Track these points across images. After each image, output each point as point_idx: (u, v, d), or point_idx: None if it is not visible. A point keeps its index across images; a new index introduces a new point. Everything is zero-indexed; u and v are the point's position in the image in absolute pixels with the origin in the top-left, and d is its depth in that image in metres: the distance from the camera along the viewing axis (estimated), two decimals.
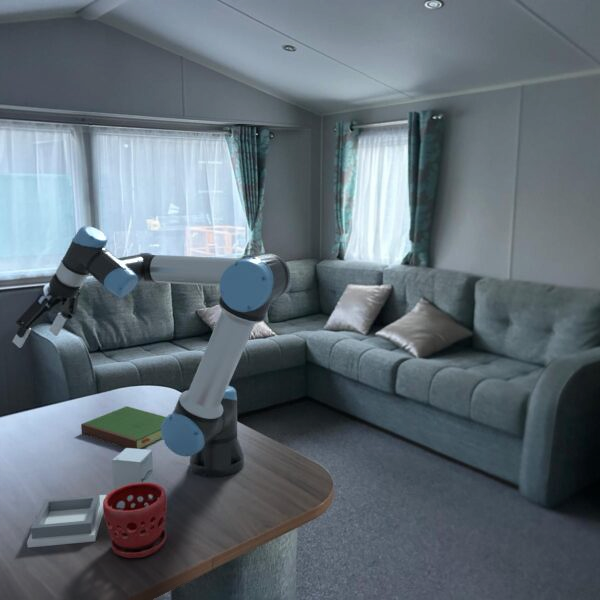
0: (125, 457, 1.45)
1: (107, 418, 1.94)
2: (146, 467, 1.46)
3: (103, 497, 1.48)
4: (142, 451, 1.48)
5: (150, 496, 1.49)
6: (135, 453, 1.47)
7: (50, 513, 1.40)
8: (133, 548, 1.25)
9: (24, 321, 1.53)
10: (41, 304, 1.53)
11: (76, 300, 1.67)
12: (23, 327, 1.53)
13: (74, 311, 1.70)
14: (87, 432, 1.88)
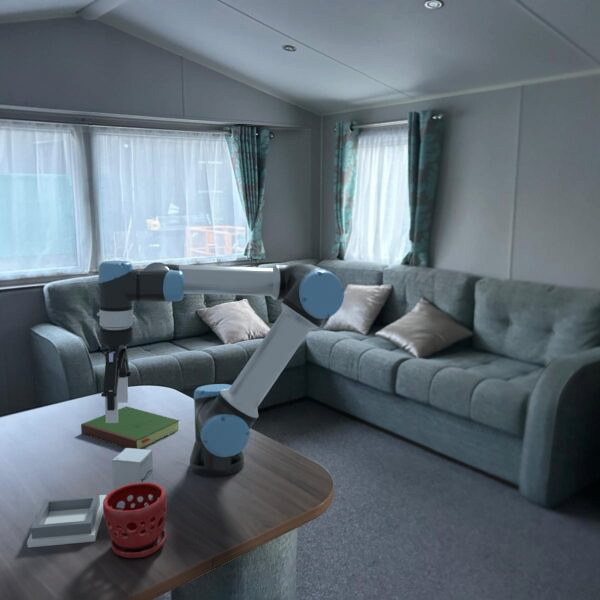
0: (125, 457, 1.45)
1: None
2: (146, 467, 1.46)
3: (103, 497, 1.48)
4: (142, 451, 1.48)
5: (150, 496, 1.49)
6: (135, 453, 1.47)
7: (50, 513, 1.40)
8: (133, 548, 1.25)
9: (111, 387, 1.34)
10: (114, 361, 1.36)
11: (126, 351, 1.50)
12: (114, 394, 1.34)
13: (128, 367, 1.53)
14: (87, 432, 1.88)
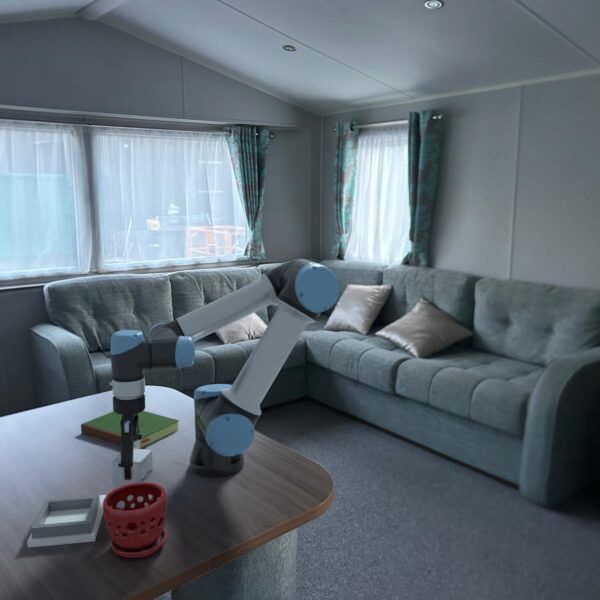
0: None
1: (106, 418, 1.94)
2: (146, 467, 1.46)
3: (103, 497, 1.48)
4: (142, 451, 1.48)
5: (150, 496, 1.49)
6: (135, 453, 1.47)
7: (50, 513, 1.40)
8: (133, 548, 1.25)
9: (128, 458, 1.37)
10: (130, 431, 1.38)
11: None
12: (131, 464, 1.37)
13: (138, 429, 1.55)
14: (87, 432, 1.88)
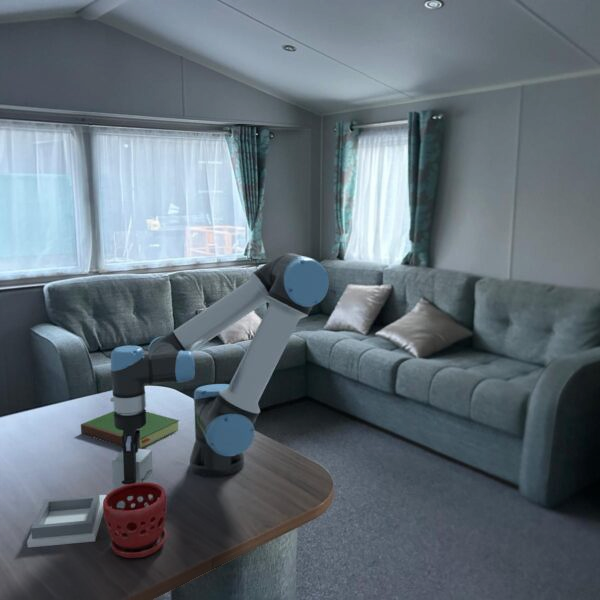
0: None
1: (106, 418, 1.94)
2: (146, 467, 1.46)
3: (103, 497, 1.48)
4: (142, 451, 1.48)
5: (150, 496, 1.49)
6: None
7: (50, 513, 1.40)
8: (133, 548, 1.25)
9: (131, 476, 1.39)
10: (131, 450, 1.39)
11: None
12: (134, 481, 1.40)
13: None
14: (87, 432, 1.88)
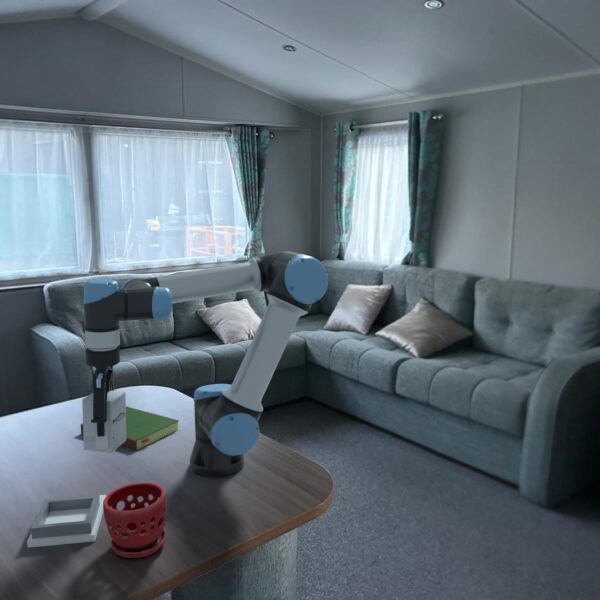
0: None
1: None
2: (118, 409, 1.39)
3: (103, 497, 1.48)
4: (115, 393, 1.41)
5: (122, 440, 1.42)
6: None
7: (50, 513, 1.40)
8: (133, 548, 1.25)
9: (100, 414, 1.32)
10: (102, 387, 1.32)
11: None
12: (104, 420, 1.33)
13: None
14: None
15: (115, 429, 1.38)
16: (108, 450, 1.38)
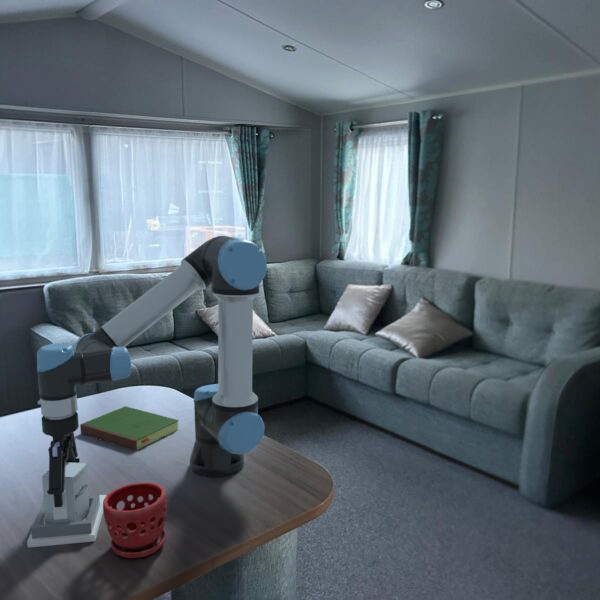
0: None
1: (106, 418, 1.94)
2: (80, 483, 1.35)
3: (103, 497, 1.48)
4: (76, 465, 1.37)
5: (85, 513, 1.39)
6: (68, 468, 1.36)
7: None
8: (133, 548, 1.25)
9: (56, 485, 1.26)
10: (58, 455, 1.27)
11: (73, 436, 1.41)
12: (60, 491, 1.26)
13: (76, 452, 1.43)
14: (86, 432, 1.88)
15: (77, 504, 1.34)
16: None
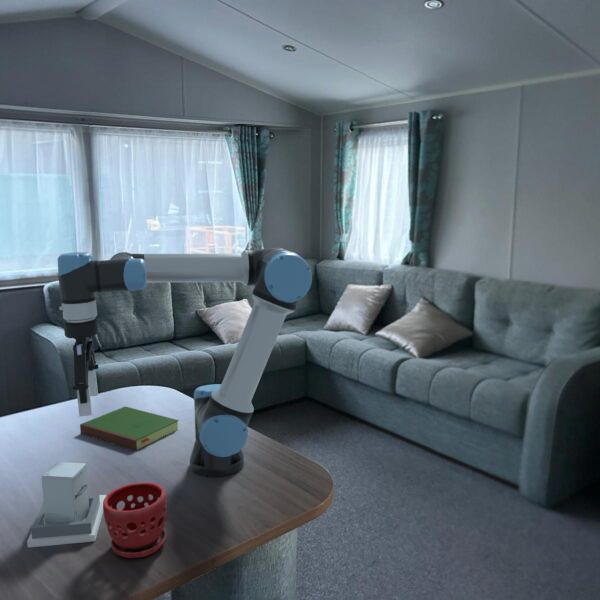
0: (56, 472, 1.34)
1: (106, 418, 1.94)
2: (80, 483, 1.35)
3: (103, 497, 1.48)
4: (75, 465, 1.37)
5: (85, 513, 1.39)
6: (68, 468, 1.36)
7: None
8: (133, 548, 1.25)
9: (82, 380, 1.33)
10: (83, 353, 1.35)
11: None
12: (86, 386, 1.33)
13: (94, 360, 1.51)
14: (86, 432, 1.88)
15: (77, 504, 1.34)
16: None
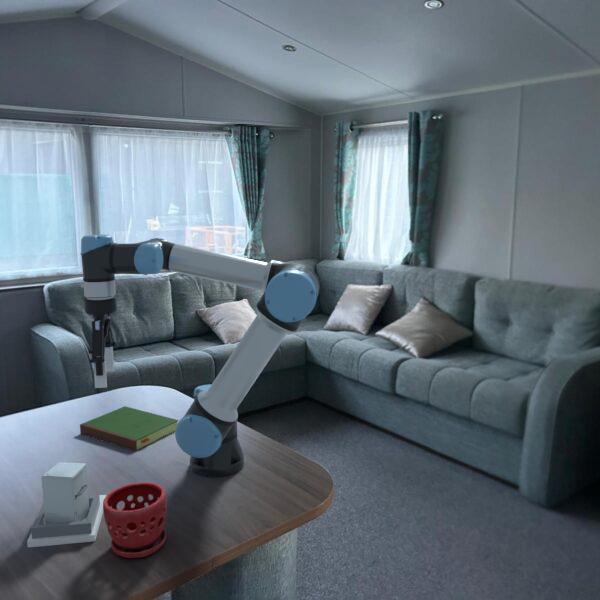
0: (56, 472, 1.34)
1: (105, 418, 1.94)
2: (80, 483, 1.35)
3: (103, 497, 1.48)
4: (75, 465, 1.37)
5: (85, 513, 1.39)
6: (68, 468, 1.36)
7: None
8: (133, 548, 1.25)
9: (98, 353, 1.42)
10: (100, 329, 1.44)
11: None
12: (102, 359, 1.42)
13: (112, 337, 1.60)
14: (86, 432, 1.88)
15: (77, 504, 1.34)
16: None
